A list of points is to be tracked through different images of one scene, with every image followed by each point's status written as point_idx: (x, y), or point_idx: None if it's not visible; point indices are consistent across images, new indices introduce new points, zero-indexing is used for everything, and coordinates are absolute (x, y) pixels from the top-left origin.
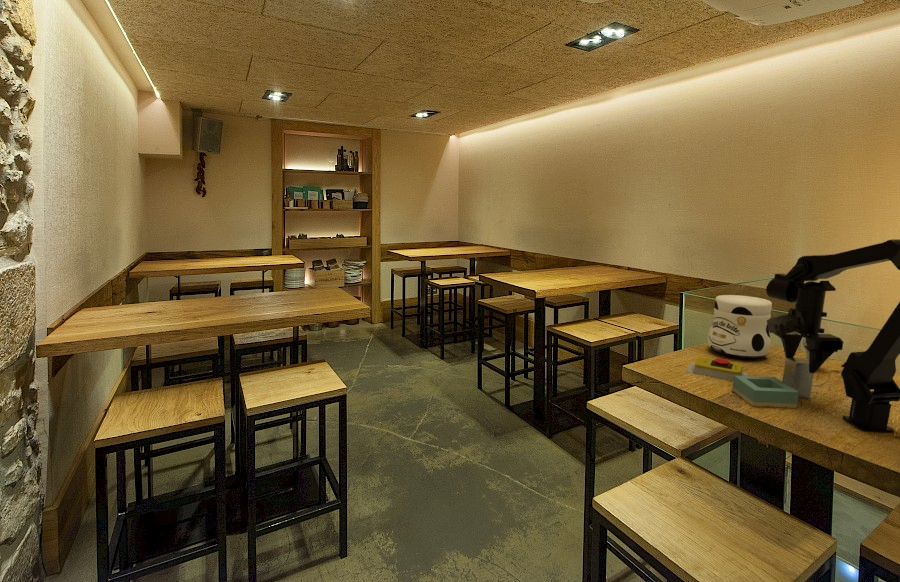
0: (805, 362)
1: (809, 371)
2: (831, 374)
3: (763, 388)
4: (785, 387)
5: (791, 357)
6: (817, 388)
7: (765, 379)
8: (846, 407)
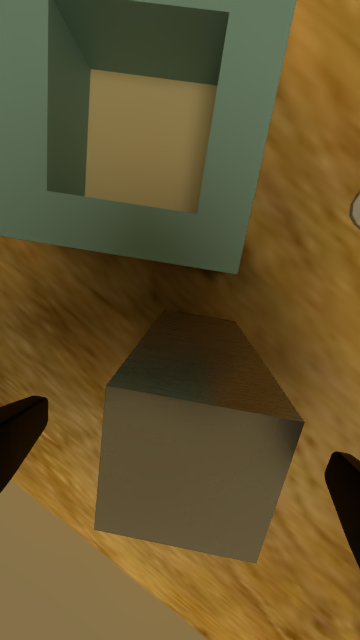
0: (129, 483)
1: (33, 398)
2: (353, 606)
3: (33, 17)
4: (64, 207)
5: (345, 506)
6: None
7: (203, 176)
8: (78, 426)
